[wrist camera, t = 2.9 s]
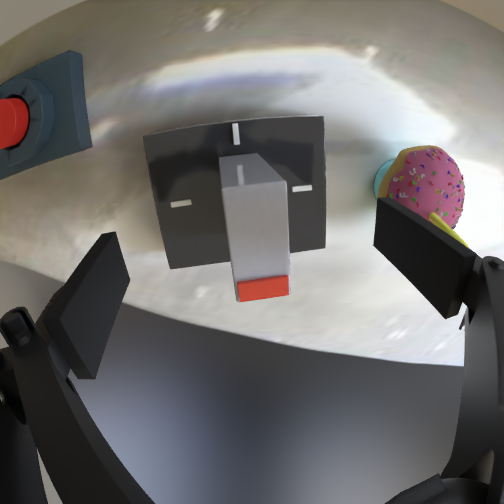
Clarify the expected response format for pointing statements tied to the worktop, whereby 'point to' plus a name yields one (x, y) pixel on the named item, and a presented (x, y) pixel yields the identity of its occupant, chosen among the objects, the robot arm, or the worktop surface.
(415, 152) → the cupcake
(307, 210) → the plate
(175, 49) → the worktop surface
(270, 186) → the hob knob
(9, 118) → the button
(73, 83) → the button box
